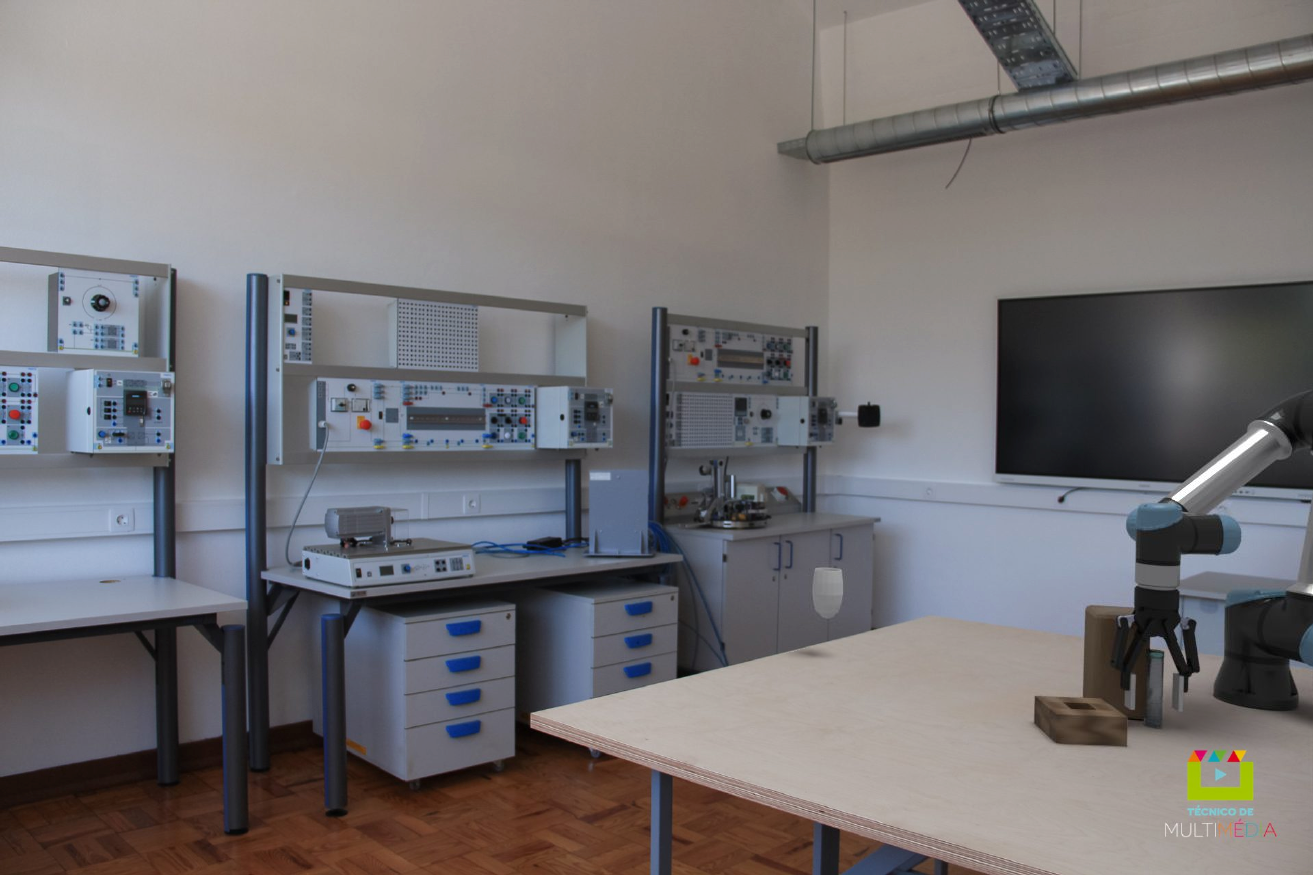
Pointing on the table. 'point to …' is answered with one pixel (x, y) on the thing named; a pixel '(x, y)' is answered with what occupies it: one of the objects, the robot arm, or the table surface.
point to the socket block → (1080, 720)
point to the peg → (1154, 688)
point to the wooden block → (1097, 657)
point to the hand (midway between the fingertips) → (1153, 708)
